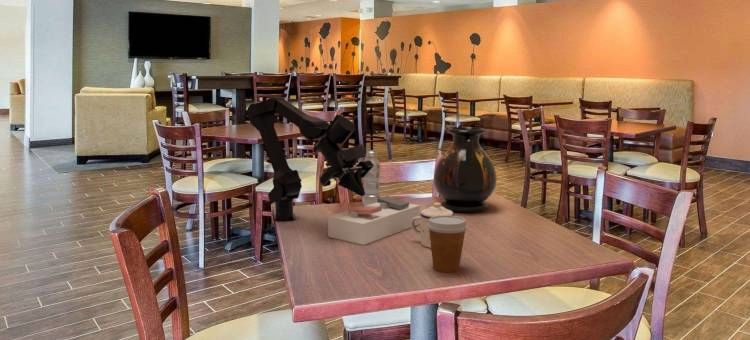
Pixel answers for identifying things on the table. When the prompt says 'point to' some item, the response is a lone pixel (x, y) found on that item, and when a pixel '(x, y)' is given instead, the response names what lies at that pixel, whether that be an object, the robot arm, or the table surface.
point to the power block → (372, 223)
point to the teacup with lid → (425, 216)
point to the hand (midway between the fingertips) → (363, 195)
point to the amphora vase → (465, 172)
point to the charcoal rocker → (393, 202)
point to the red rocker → (365, 209)
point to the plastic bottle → (372, 180)
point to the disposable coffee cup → (446, 241)
